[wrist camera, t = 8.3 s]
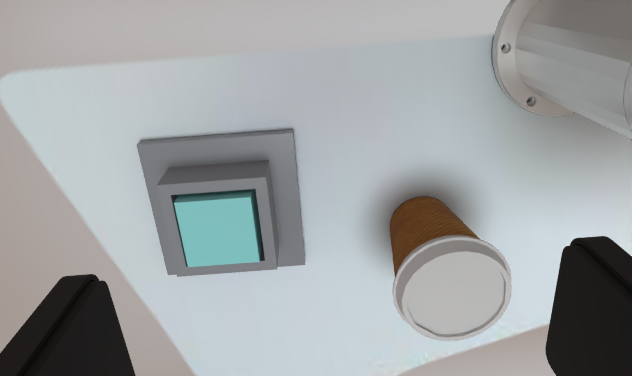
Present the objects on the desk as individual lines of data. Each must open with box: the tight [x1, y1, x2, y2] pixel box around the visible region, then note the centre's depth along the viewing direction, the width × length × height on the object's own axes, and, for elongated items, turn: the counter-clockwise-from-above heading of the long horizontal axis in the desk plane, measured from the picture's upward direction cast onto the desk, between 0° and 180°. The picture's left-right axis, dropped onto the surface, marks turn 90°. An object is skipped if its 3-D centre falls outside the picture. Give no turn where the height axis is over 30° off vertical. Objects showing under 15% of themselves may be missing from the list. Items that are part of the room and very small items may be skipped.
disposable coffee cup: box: [390, 197, 511, 341], centre depth 41 cm, size 10×10×12 cm
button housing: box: [137, 129, 305, 277], centre depth 43 cm, size 14×14×5 cm
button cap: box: [174, 189, 263, 267], centre depth 42 cm, size 6×6×4 cm
